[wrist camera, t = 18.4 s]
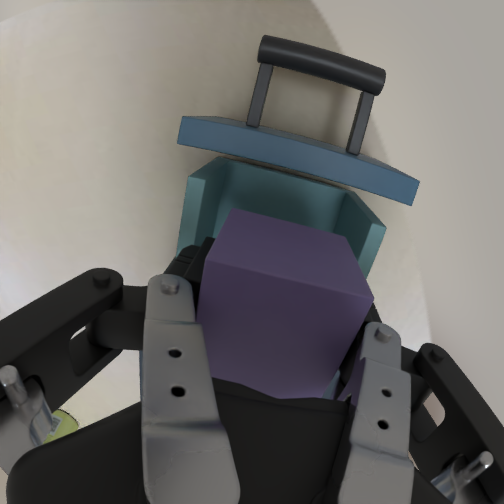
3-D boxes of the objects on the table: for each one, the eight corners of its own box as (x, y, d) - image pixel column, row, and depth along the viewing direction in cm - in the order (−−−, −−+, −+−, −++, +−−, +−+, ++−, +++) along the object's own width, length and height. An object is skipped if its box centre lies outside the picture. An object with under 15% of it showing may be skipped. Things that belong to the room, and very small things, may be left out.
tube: (80, 433, 39) (36, 524, 21) (54, 419, 38) (7, 505, 21) (78, 418, 36) (28, 518, 19) (50, 402, 36) (-4, 496, 18)
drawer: (233, 47, 16) (207, 11, 10) (392, 91, 17) (446, 82, 10) (184, 296, 24) (153, 359, 17) (313, 326, 24) (321, 397, 18)
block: (231, 206, 12) (205, 257, 8) (345, 236, 12) (375, 298, 8) (211, 304, 14) (186, 378, 10) (310, 327, 14) (317, 405, 10)
